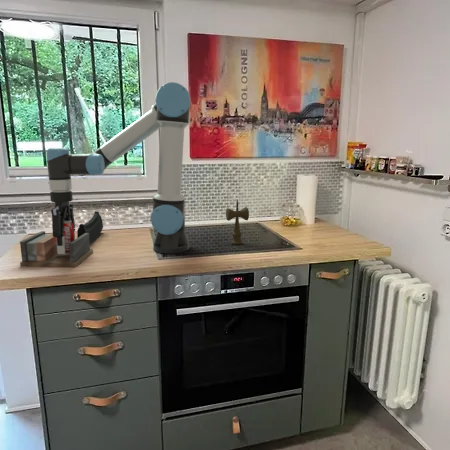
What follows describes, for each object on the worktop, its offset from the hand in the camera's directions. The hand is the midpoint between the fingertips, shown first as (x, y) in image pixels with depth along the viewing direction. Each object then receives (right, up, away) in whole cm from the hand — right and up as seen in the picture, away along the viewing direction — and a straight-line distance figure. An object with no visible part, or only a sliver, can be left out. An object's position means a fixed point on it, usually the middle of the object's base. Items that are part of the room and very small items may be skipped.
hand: (66, 250), depth 144 cm
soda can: (0, -1, 0) cm, 1 cm away
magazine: (0, +2, +28) cm, 28 cm away
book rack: (-3, -3, +1) cm, 5 cm away
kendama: (+66, +1, +25) cm, 71 cm away
